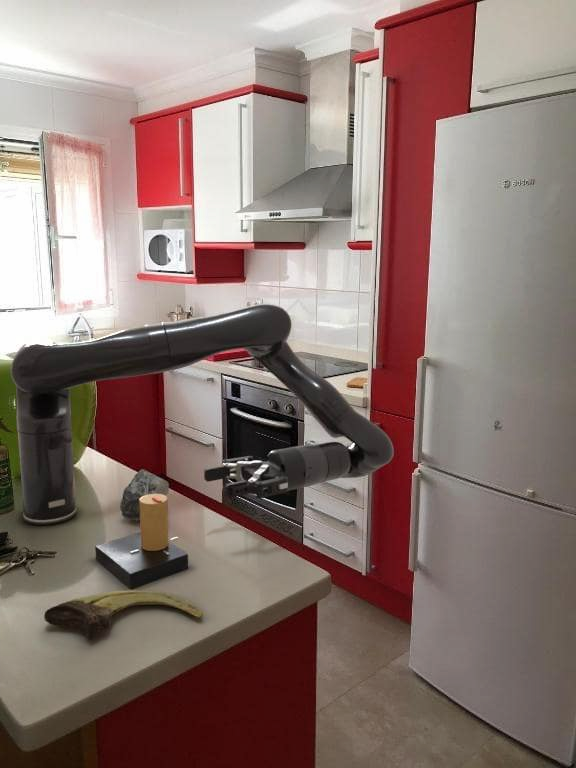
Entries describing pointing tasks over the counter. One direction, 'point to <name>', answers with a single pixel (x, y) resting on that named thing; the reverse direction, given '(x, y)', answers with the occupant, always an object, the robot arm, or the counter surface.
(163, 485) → the stone
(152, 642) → the counter surface
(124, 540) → the panel
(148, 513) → the tan cylinder
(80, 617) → the claw
